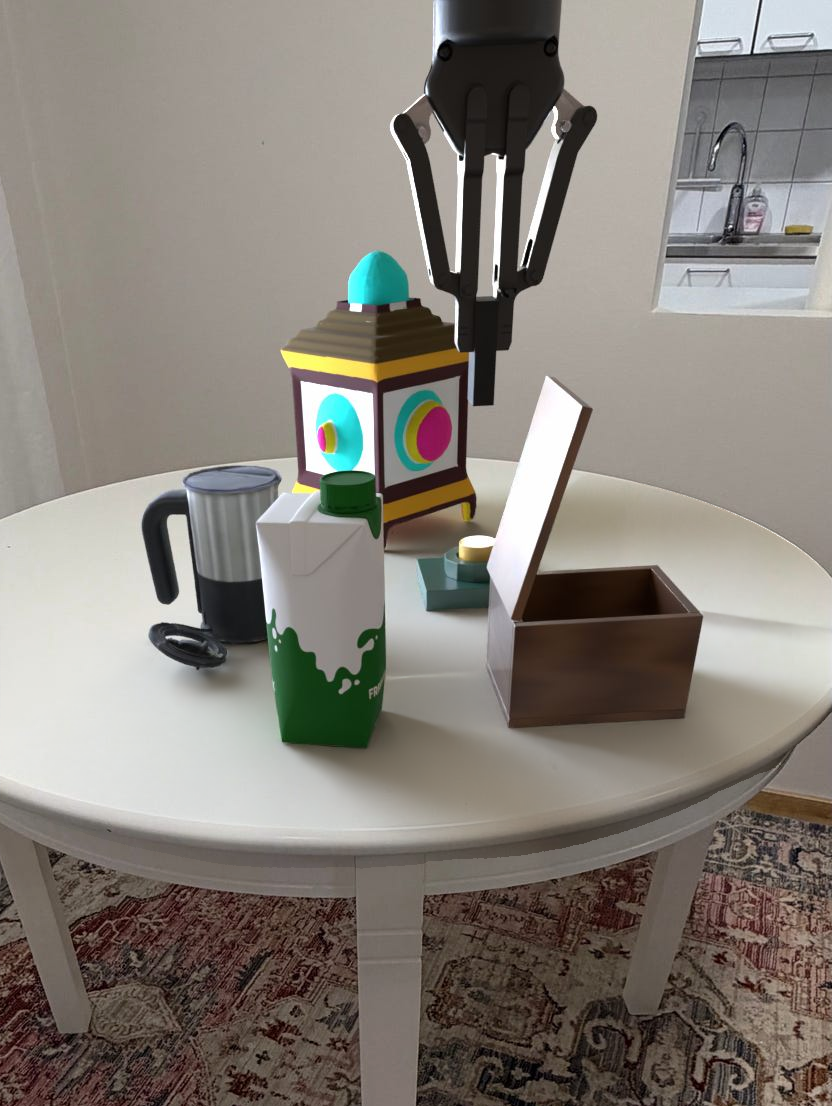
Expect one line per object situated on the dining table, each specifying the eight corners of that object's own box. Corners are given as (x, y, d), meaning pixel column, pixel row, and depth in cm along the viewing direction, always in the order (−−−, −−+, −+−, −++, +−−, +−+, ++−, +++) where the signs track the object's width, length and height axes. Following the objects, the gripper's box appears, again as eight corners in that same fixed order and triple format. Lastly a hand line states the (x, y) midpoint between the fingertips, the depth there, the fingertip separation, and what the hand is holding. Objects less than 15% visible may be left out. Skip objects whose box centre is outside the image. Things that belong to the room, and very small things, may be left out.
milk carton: (375, 755, 75) (368, 495, 64) (266, 747, 77) (239, 493, 65) (394, 704, 82) (391, 461, 70) (293, 698, 84) (273, 460, 72)
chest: (643, 658, 88) (657, 564, 83) (684, 717, 78) (703, 616, 73) (485, 667, 87) (490, 573, 82) (508, 728, 78) (515, 626, 73)
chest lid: (555, 377, 73) (545, 375, 73) (593, 408, 64) (582, 406, 64) (494, 569, 82) (486, 567, 82) (520, 622, 73) (510, 619, 73)
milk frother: (287, 605, 102) (275, 460, 93) (306, 667, 89) (294, 505, 80) (153, 619, 100) (127, 472, 91) (153, 684, 87) (124, 520, 79)
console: (522, 572, 107) (525, 536, 105) (541, 605, 99) (544, 567, 97) (416, 577, 107) (416, 542, 105) (426, 611, 99) (426, 573, 97)
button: (493, 550, 103) (494, 534, 102) (499, 563, 99) (500, 546, 98) (456, 552, 102) (456, 536, 101) (461, 565, 99) (462, 548, 98)
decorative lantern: (275, 525, 125) (252, 255, 107) (384, 492, 135) (379, 241, 117) (380, 559, 112) (374, 261, 95) (491, 520, 123) (504, 245, 105)
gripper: (594, -35, 58) (558, 388, 72) (381, -27, 58) (386, 395, 72) (629, -59, 52) (582, 408, 66) (391, -50, 52) (394, 417, 66)
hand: (480, 401), depth 69 cm, fingers closed
